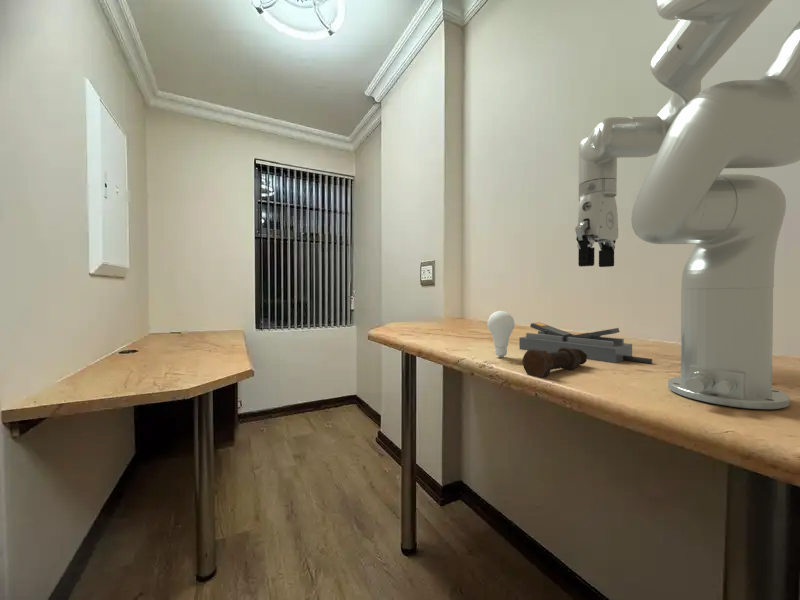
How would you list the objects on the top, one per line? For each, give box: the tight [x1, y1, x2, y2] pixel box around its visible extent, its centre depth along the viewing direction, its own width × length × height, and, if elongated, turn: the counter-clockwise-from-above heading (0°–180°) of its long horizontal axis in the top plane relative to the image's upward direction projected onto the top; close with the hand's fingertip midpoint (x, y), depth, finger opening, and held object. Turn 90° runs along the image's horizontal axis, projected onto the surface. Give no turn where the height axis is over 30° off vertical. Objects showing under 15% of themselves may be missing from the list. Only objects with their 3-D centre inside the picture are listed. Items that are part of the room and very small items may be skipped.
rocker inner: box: [571, 327, 620, 338], centre depth 78 cm, size 4×9×1 cm, turn 36°
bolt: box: [521, 347, 588, 379], centre depth 65 cm, size 6×5×15 cm
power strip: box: [518, 330, 653, 364], centre depth 80 cm, size 9×28×4 cm, turn 36°
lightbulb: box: [486, 310, 516, 358], centre depth 79 cm, size 6×6×11 cm
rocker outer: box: [529, 321, 572, 339], centre depth 87 cm, size 4×9×1 cm, turn 36°
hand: (596, 266), depth 77 cm, fingers open, 9 cm apart
